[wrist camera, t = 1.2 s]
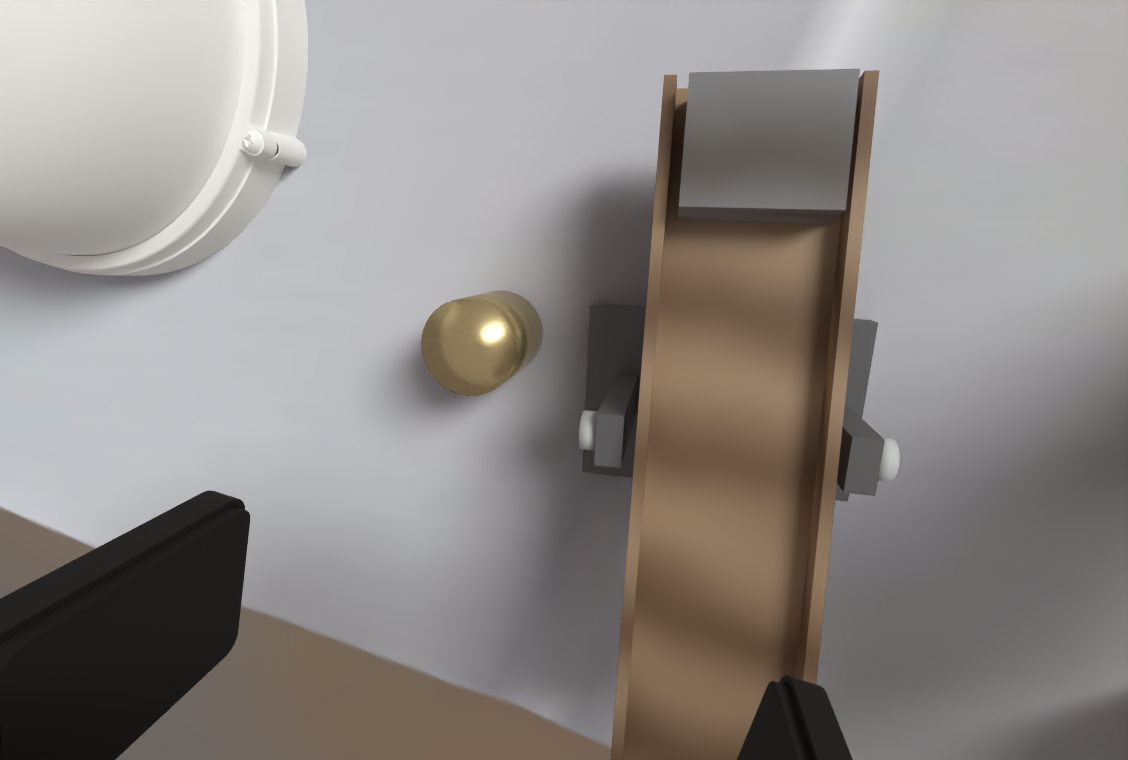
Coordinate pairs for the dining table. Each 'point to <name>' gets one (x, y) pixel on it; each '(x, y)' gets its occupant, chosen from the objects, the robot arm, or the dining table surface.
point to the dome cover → (144, 126)
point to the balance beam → (739, 400)
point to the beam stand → (617, 400)
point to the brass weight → (480, 341)
